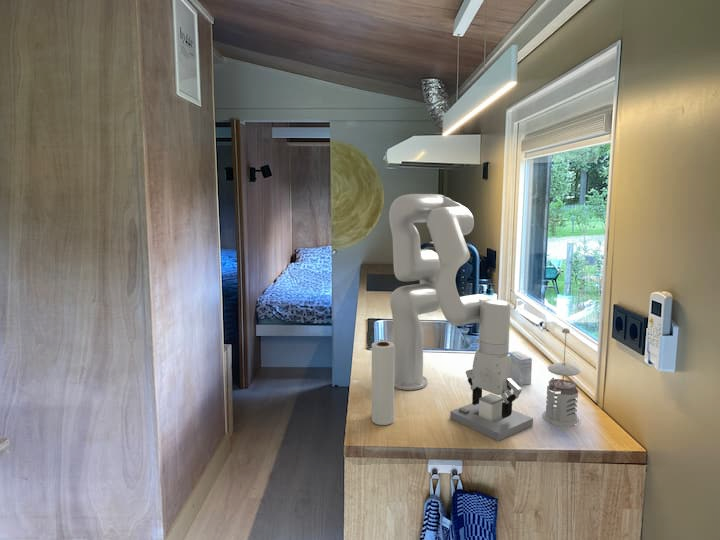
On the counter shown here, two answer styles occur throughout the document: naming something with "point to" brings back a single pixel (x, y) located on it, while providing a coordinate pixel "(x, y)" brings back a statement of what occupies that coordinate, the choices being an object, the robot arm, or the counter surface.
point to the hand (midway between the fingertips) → (491, 409)
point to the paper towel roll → (383, 382)
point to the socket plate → (494, 430)
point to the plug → (491, 407)
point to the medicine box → (521, 368)
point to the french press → (562, 394)
